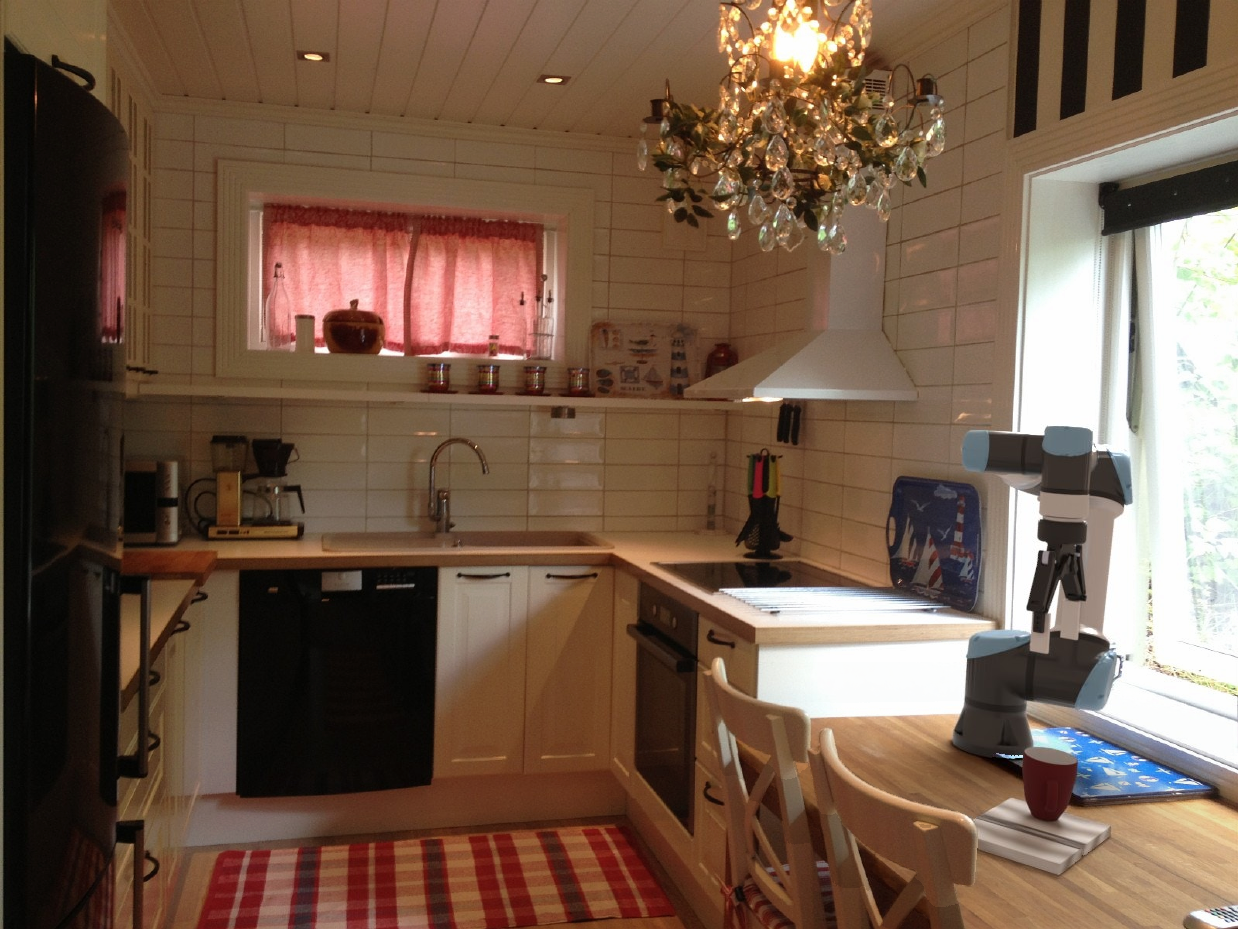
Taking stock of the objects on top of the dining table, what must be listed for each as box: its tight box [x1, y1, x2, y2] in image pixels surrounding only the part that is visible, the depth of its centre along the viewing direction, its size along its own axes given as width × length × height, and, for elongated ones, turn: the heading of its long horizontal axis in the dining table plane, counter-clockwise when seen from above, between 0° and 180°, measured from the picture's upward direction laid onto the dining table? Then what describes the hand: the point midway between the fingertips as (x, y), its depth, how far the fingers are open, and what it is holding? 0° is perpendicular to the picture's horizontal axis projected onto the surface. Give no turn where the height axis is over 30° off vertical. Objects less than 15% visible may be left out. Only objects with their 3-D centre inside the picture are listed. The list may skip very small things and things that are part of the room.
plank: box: [980, 797, 1112, 857], centre depth 171 cm, size 12×16×2 cm
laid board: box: [972, 815, 1082, 876], centre depth 162 cm, size 9×16×2 cm, turn 48°
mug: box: [1021, 746, 1079, 821], centre depth 170 cm, size 11×8×10 cm
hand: (1054, 645), depth 180 cm, fingers open, 13 cm apart
